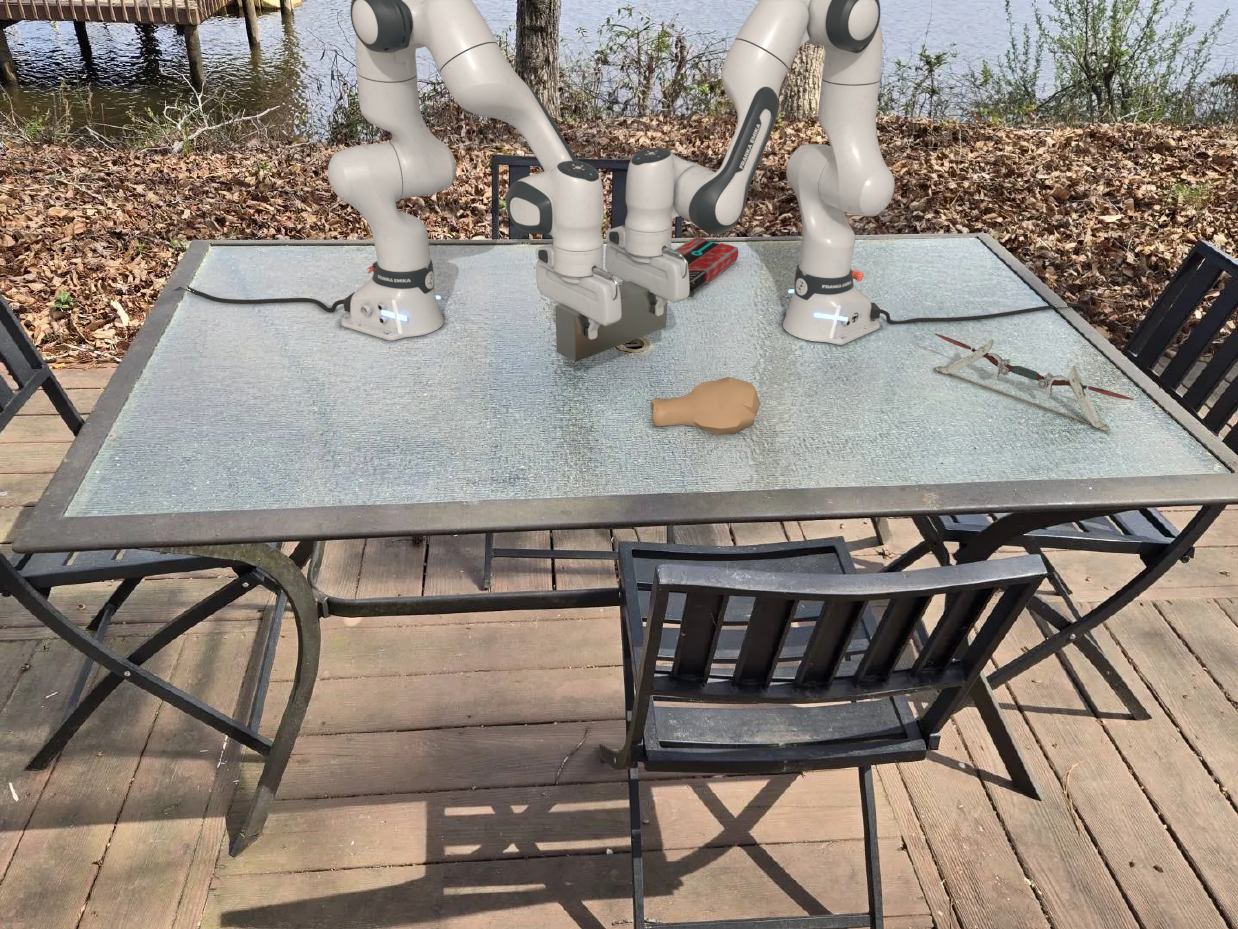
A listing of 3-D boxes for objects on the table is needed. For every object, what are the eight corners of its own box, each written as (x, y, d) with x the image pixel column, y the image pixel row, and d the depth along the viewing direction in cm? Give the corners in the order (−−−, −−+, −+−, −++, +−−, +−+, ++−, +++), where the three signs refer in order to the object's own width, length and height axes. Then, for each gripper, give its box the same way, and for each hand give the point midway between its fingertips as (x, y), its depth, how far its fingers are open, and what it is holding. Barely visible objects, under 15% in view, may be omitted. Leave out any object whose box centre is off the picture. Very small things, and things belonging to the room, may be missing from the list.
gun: (618, 266, 215) (688, 285, 207) (677, 229, 237) (743, 245, 229) (618, 283, 218) (687, 302, 210) (676, 245, 240) (741, 261, 232)
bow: (1121, 432, 163) (1140, 385, 158) (1118, 436, 162) (1137, 389, 157) (928, 364, 185) (939, 321, 179) (924, 367, 184) (935, 323, 178)
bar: (575, 362, 161) (574, 315, 156) (556, 351, 164) (555, 305, 159) (666, 327, 174) (668, 283, 169) (647, 318, 177) (648, 274, 172)
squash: (764, 441, 158) (764, 403, 152) (653, 450, 160) (649, 412, 153) (757, 403, 166) (757, 365, 160) (652, 411, 167) (648, 374, 161)
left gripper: (631, 272, 150) (628, 345, 157) (556, 239, 162) (557, 309, 170) (603, 280, 146) (602, 355, 154) (529, 246, 159) (531, 317, 166)
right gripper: (699, 251, 159) (694, 321, 167) (624, 222, 172) (622, 288, 180) (675, 259, 156) (671, 330, 164) (600, 229, 168) (599, 296, 176)
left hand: (578, 330), depth 162 cm, fingers open, 6 cm apart
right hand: (645, 308), depth 172 cm, fingers closed on bar, 5 cm apart
